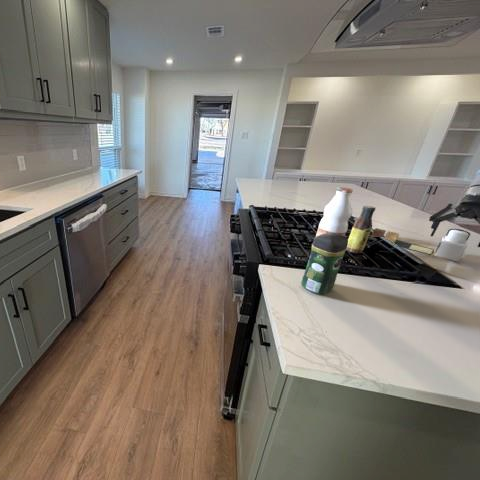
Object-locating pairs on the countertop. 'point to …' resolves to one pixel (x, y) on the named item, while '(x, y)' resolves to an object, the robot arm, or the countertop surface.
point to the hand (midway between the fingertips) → (454, 239)
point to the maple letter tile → (392, 236)
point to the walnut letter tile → (378, 233)
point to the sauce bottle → (361, 230)
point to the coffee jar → (324, 262)
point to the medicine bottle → (453, 245)
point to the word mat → (411, 246)
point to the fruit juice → (337, 213)
